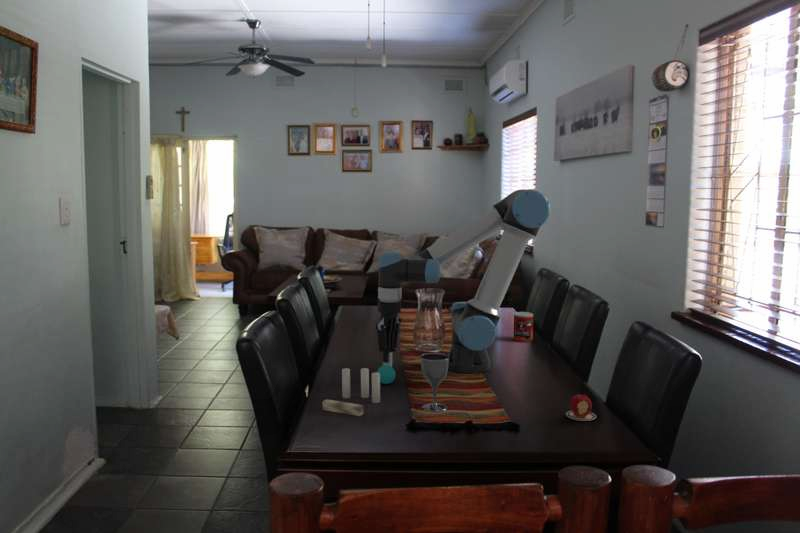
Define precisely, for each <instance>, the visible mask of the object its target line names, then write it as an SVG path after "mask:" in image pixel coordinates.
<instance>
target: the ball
mask: <svg viewBox="0 0 800 533" xmlns="http://www.w3.org/2000/svg"><path fill="white" fill-rule="evenodd" d="M376 372H378V373H380V384H384V385H389V384H391V383H393V381H394V380H395V379H396V370H395V369H394V367H393V366H392V367H391V366H389V365H383V364H382V365H381V366H380V367H379V368H378V369H377V371H376Z"/></svg>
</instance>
